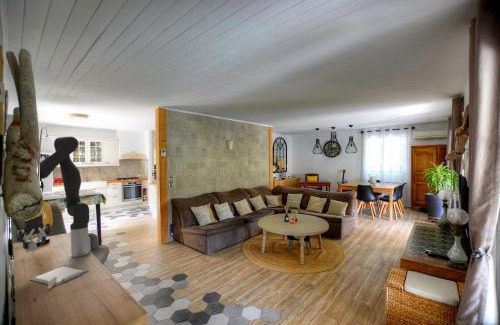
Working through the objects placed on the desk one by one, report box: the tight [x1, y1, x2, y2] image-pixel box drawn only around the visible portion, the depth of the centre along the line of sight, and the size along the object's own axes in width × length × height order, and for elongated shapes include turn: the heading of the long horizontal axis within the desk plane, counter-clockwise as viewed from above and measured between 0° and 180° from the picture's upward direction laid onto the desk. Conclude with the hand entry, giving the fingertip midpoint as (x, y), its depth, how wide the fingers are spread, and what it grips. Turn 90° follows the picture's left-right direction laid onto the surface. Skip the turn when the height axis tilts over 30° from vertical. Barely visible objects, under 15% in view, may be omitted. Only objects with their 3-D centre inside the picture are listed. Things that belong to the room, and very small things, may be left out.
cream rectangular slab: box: [47, 276, 57, 290], centre depth 113 cm, size 5×1×4 cm, turn 9°
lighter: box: [25, 233, 43, 253], centre depth 125 cm, size 7×2×8 cm, turn 132°
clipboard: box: [29, 265, 90, 288], centre depth 123 cm, size 16×20×2 cm
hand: (35, 246), depth 125 cm, fingers closed on lighter, 7 cm apart
